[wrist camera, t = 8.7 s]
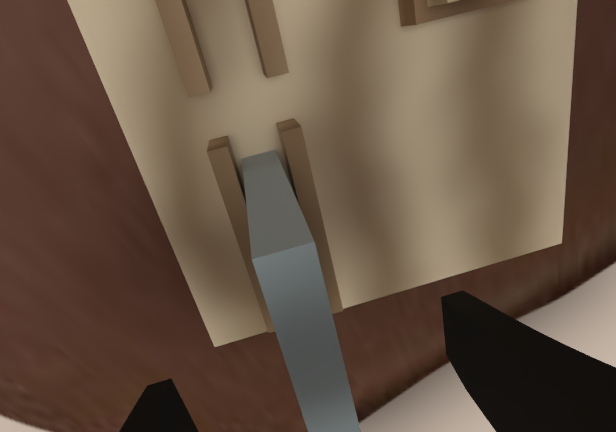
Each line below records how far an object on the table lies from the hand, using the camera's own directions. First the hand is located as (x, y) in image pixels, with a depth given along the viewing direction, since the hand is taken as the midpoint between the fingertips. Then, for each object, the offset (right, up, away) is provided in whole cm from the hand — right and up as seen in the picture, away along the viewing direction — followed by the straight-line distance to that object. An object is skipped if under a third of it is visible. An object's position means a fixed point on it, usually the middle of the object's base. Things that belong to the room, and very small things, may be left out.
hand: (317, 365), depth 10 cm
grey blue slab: (-2, +3, +8) cm, 9 cm away
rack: (+2, +10, +8) cm, 12 cm away
